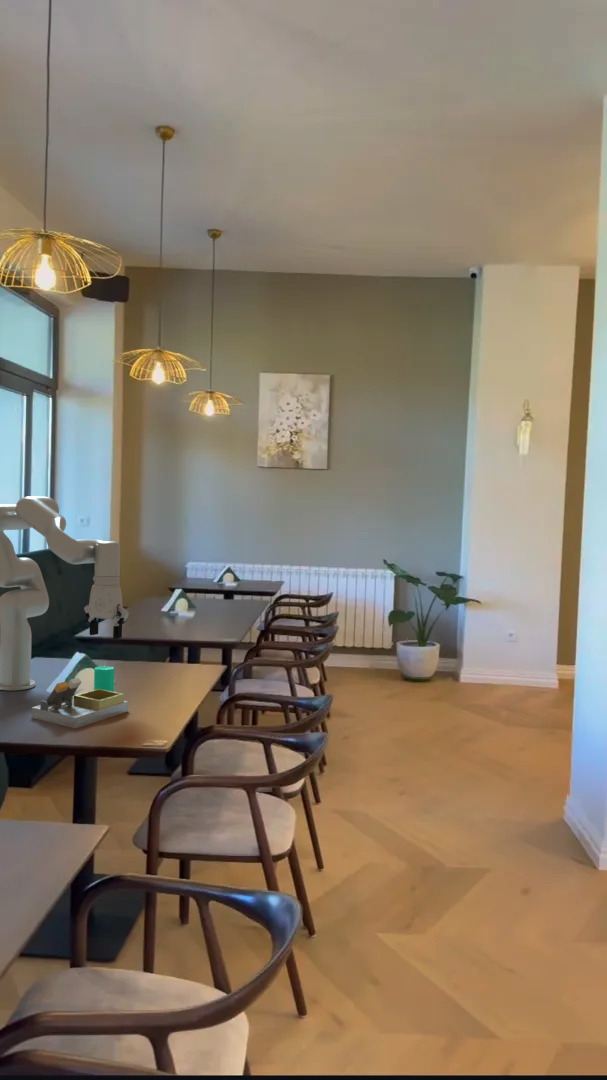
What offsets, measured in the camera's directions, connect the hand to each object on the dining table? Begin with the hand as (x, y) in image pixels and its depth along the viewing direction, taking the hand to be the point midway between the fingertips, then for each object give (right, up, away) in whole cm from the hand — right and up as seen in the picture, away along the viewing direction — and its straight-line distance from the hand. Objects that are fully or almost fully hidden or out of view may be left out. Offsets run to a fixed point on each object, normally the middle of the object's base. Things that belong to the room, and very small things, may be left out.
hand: (105, 636), depth 235 cm
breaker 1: (-11, -17, -19) cm, 28 cm away
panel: (-4, -21, -14) cm, 25 cm away
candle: (-1, -20, +1) cm, 20 cm away
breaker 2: (-8, -17, -15) cm, 24 cm away
